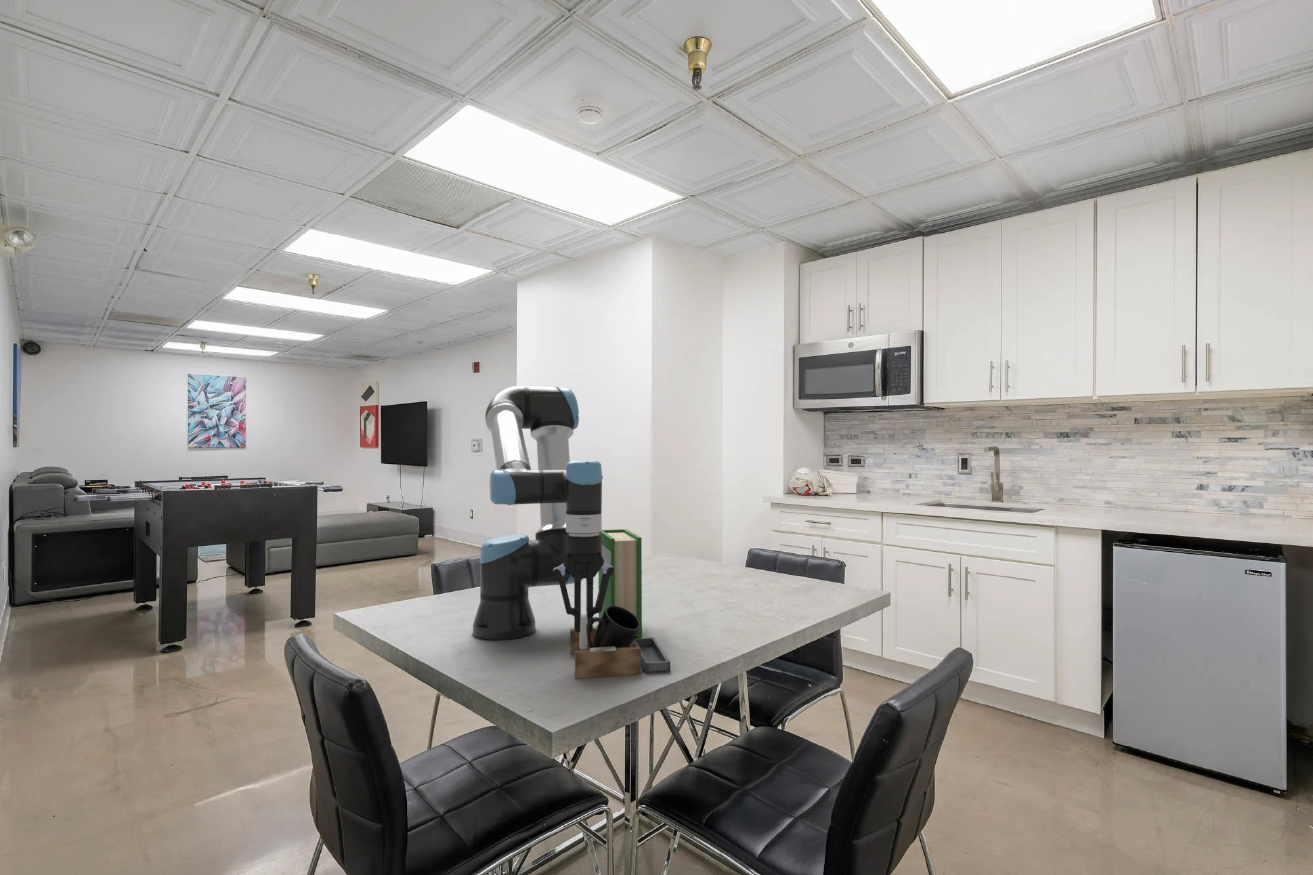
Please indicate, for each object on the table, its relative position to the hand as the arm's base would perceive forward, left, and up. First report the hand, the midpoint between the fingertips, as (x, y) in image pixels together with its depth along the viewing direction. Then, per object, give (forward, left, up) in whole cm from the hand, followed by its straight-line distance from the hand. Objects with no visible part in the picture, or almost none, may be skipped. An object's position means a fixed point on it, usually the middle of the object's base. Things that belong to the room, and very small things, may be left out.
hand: (583, 647), depth 131 cm
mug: (+3, 0, -2) cm, 3 cm away
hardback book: (+11, +23, -4) cm, 26 cm away
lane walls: (+4, 0, -4) cm, 6 cm away
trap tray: (+14, 0, -4) cm, 15 cm away
